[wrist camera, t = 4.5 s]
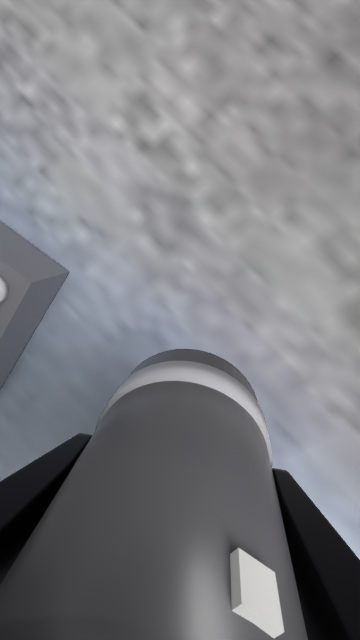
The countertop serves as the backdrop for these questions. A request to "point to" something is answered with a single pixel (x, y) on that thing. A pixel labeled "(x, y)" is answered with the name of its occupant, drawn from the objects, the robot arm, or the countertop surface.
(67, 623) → the lens
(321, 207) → the countertop surface
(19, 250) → the camera body
